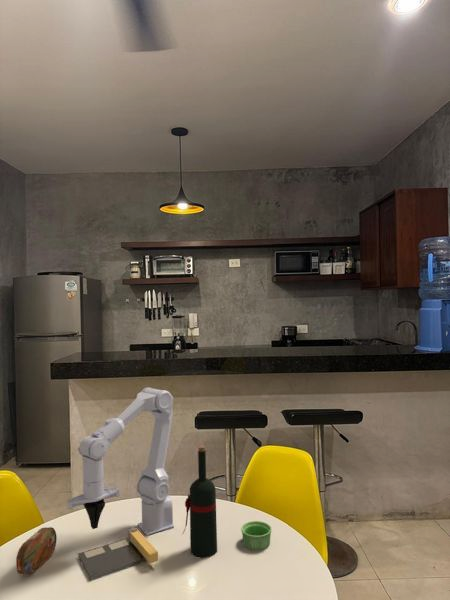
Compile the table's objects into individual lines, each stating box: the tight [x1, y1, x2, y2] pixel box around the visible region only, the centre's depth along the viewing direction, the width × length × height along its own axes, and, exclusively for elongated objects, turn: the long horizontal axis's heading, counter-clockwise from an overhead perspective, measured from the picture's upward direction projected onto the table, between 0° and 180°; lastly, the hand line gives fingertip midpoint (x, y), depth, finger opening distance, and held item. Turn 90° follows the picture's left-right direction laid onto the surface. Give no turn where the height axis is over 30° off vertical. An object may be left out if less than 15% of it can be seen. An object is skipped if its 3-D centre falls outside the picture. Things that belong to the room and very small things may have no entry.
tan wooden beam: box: [127, 527, 159, 565], centre depth 126 cm, size 16×3×2 cm, turn 33°
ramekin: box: [240, 520, 272, 551], centre depth 131 cm, size 9×9×4 cm
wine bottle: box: [181, 445, 218, 559], centre depth 127 cm, size 8×10×30 cm
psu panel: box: [77, 537, 148, 582], centre depth 124 cm, size 17×13×2 cm
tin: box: [15, 526, 58, 577], centre depth 122 cm, size 15×3×8 cm, turn 168°
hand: (94, 527), depth 125 cm, fingers closed
